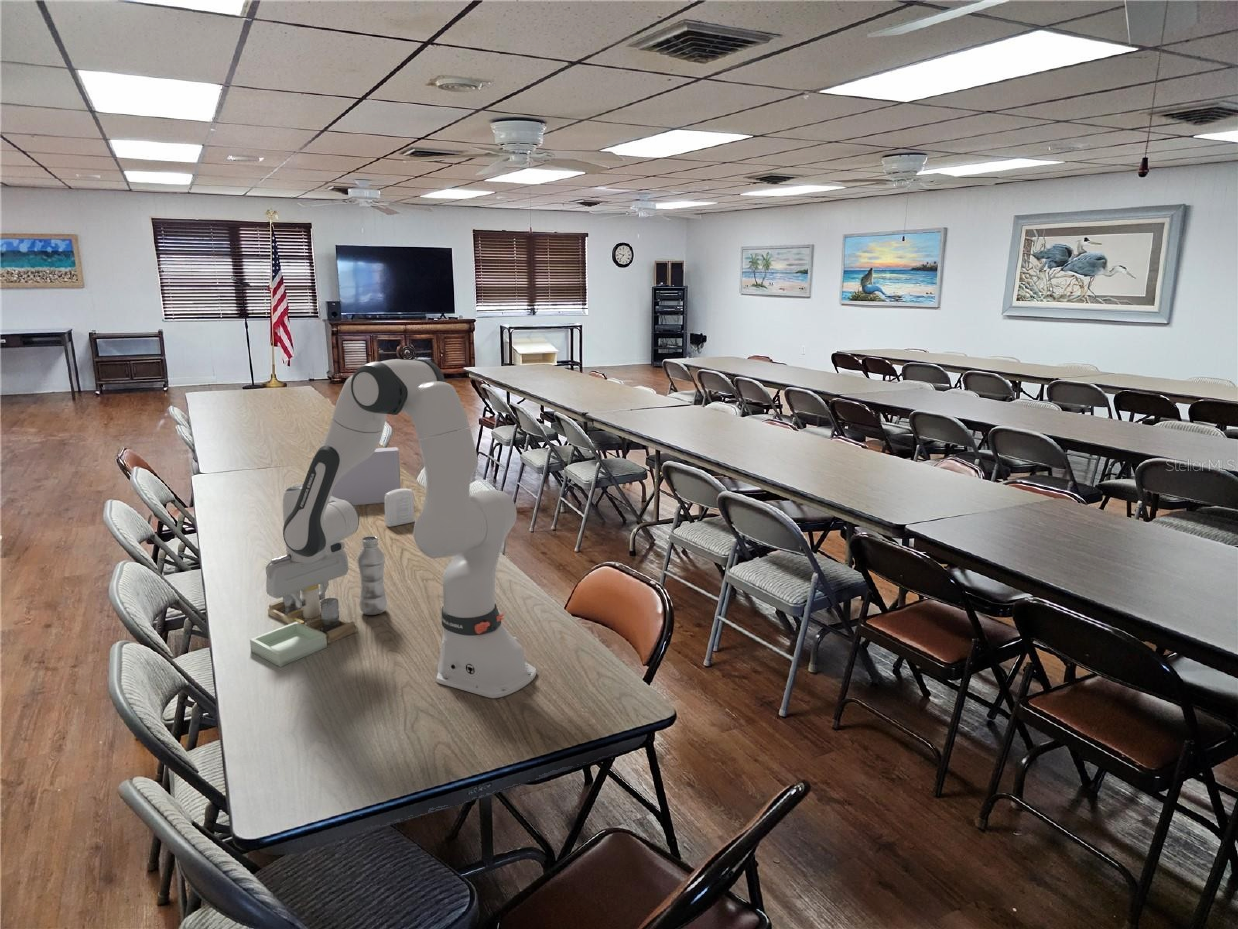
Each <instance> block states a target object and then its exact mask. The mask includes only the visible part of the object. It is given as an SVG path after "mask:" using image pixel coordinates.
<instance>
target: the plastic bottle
mask: <svg viewBox="0 0 1238 929" xmlns="http://www.w3.org/2000/svg"><path fill="white" fill-rule="evenodd" d="M378 539H379V538H378V537H377V536H375V535H369V536H368V535H367V536H364V537H362V539H361V547H362V549H361V551H359V554H358V555H357V559H356V560H357V565H358V571H359V578H360V596H359V601H358V602H359V604H358V606H359V610H360V611H361V613H362V614H364V615H368V616H375V615H379V614H383V613H384V611H385V610H386V609H387V603H388V601H387V600H388V599H387V596H386V592H385V585H384V568H385V562H386V561H385V560H386V557H385V554H384V552H383V551H382V550H381V549H380V547H379V540H378Z"/></svg>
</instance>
